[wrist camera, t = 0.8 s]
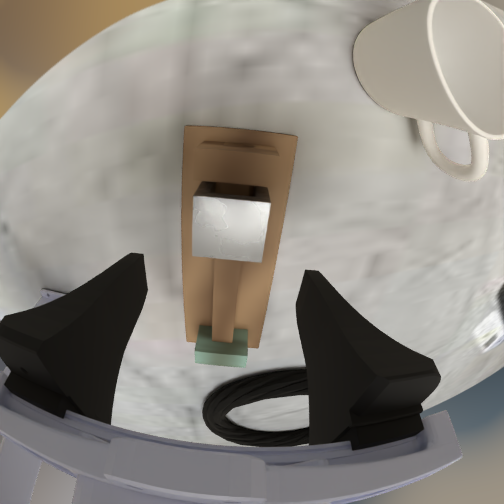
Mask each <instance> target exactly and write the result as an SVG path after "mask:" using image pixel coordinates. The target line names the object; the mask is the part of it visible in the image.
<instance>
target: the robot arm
mask: <svg viewBox="0 0 504 504" xmlns="http://www.w3.org/2000/svg"><path fill="white" fill-rule="evenodd" d="M147 292H148V287H147V280H146V272H145V264H144V255H143V254H139V253H130V254H128V255H127V256H125V257H123V258H122V259H121V260H119V261H118V262H116V263H115V264H113V265H112V266H111V267H109V268H108V269H106V270H105V271H103V272H102V273H101V274H99V275H97V276H96V277H94V278H93V279H91V280H90V281H88V282H87V283H85V284H84V285H82V286H80V287H79V288H77V289H75V290H73V291H71V292H70V293H68V294H63V293H58V292H54V291H50V290H45V289H41V291H40V293H41V296H42V297H41V299H40V300H39V301H38V303H37V304H36V305H35V307H34V308H32V309H29V310H26V311H22V312H18V313H14V314H10V315H6V316H4V318H3V319H2V321H1V322H0V357H1V359H2V360H3V361H4V363H5V364H6V368H5V370H4V372H2V371H1V370H0V434H1V435H2V436H3V439H2V442H1V444H0V504H30V501H31V498H32V494H33V490H34V486H35V483H36V479H37V476H38V473H39V470H40V467H41V464H42V461H43V462H45V463H47V464H49V465H51V466H53V467H55V468H57V469H58V470H61V471H62V472H65V473H67V474H69V475H71V476H73V477H75V478H77V481H76V485H75V490H74V496H73V500H72V504H346V503H350V502H354V501H359V500H362V499H366V498H370V497H373V496H376V495H380V494H383V493H386V492H389V491H392V490H395V489H398V488H400V487H403V486H406V485H408V484H411V483H413V482H416V481H418V480H421V479H423V478H425V477H428V476H430V475H431V474H434V473H436V472H438V471H440V470H441V469H443V468H445V467H447V466H449V465H450V464H452V463H454V462H456V461H457V460H459V459H461V458H462V456H463V455H462V452H461V449H460V446H459V443H458V440H457V437H456V434H455V431H454V428H453V426H452V423H451V420H450V417H449V415H448V413H447V411H442V412H439V413H436V414H433V415H430V416H427V417H425V418H423V419H422V420H421V417H420V413H421V412H423V408H422V406H421V403H422V402H423V401H424V400H425V399H426V398H427V397H428V396H429V395H430V394H431V393H432V392H433V391H434V390H435V389H436V388H437V386H438V384H439V383H440V380H441V376H440V374H439V372H438V369H437V367H436V365H435V363H434V361H433V359H431V358H428V357H426V356H424V355H422V354H419V353H417V352H415V351H413V350H411V349H409V348H407V347H406V346H404V345H402V344H400V343H399V342H397V341H395V340H394V339H392V338H391V337H389V336H388V335H386V334H385V333H383V332H382V331H380V330H379V329H378V328H376V327H375V326H374V325H372V324H371V323H370V322H369V321H368V320H366V319H365V318H364V317H363V316H362V315H360V314H359V313H358V312H357V311H356V310H355V309H354V308H353V307H352V306H351V305H350V304H349V303H348V302H347V301H346V300H345V299H344V298H343V297H342V296H341V295H340V294H339V293H338V292H337V290H336V289H335V288H334V287H333V286H332V285H331V284H330V283H329V282H328V281H327V279H326V278H325V277H324V276H323V275H322V274H321V273H320V272H319V271H315V270H305V272H304V276H303V280H302V284H301V287H300V291H299V294H298V298H297V301H296V317H297V325H298V330H299V335H300V340H301V344H302V349H303V354H304V358H305V363H306V369H307V379H308V392H309V446H293V447H239V446H223V445H211V444H202V443H194V442H187V441H180V440H174V439H168V438H163V437H157V436H153V435H148V434H143V433H139V432H135V431H131V430H127V429H123V428H120V427H116V426H113V425H111V417H112V408H113V401H114V394H115V388H116V383H117V379H118V374H119V370H120V366H121V362H122V358H123V354H124V351H125V349H126V346H127V343H128V341H129V339H130V336H131V334H132V332H133V329H134V327H135V325H136V322H137V320H138V318H139V315H140V313H141V311H142V308H143V305H144V302H145V299H146V295H147Z"/></svg>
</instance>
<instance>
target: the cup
mask: <svg viewBox="0 0 504 504" xmlns="http://www.w3.org/2000/svg"><path fill="white" fill-rule="evenodd" d="M353 62H354V67H355V71H356V74H357V77H358V79H359V81H360V83H361V85H362V86H363V88H364V89H365V91H366V92H367V93H368V95H369V96H370V97H371V98H372V99H373V100H374V101H375V102H376V103H377V104H378V105H380V106H381V107H383V108H384V109H386V110H388V111H390V112H392V113H394V114H397V115H400V116H404V117H409V118H414V119H416V120H417V124H418V129H419V133H420V137H421V140H422V143H423V145H424V148H425V150H426V152H427V154H428V156H429V157H430V159H431V160H432V162H433V163H434V164H435V165H436V166H437V167H438V168H439V169H440V170H442V171H443V172H445V173H446V174H448V175H449V176H451V177H453V178H456V179H458V180H462V181H470V182H472V181H477V180H479V179H480V178H482V177H483V176H484V175H485V173H486V171H487V168H488V163H489V145H488V139H491V140H501V139H504V25H503V23H502V22H501V21H500V19H499V18H498V17H497V16H496V15H495V14H494V13H493V11H492V10H491V9H490V8H488V7H487V6H486V5H485V4H484V3H483V2H481V1H480V0H417V1H415V2H412V3H410V4H408V5H406V6H404V7H401V8H399V9H397V10H395V11H393V12H391V13H389V14H387V15H385V16H383V17H381V18H379V19H377V20H376V21H374V22H372V23H370V24H369V25H367V26H366V27H365V28H364V29H363V30H362V31H361V32H360V34H359V35H358V37H357V39H356V41H355V44H354V49H353ZM433 123H436V124H440V125H444V126H448V127H452V128H455V129H459V130H462V131H466V132H468V136H469V141H470V147H471V157H472V159H471V164H469V165H461V164H458V163H455V162H453V161H451V160H449V159H448V158H446V157H445V156H444V155H443V153H442V152H441V151H440V149H439V147H438V145H437V143H436V139H435V135H434V129H433Z"/></svg>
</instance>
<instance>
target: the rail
mask: <svg viewBox="0 0 504 504" xmlns="http://www.w3.org/2000/svg"><path fill="white" fill-rule="evenodd" d="M297 139H298V137H297V136H293V135H286V134H279V133H272V132H264V131H256V130H247V129H236V128H224V127H209V126H185V128H184V144H183V166H182V208H181V232H182V275H183V296H184V313H185V327H186V340H187V342H194V343H196V346H195V363H200V364H208V365H218V366H230V367H243V368H246V362H247V356H248V348H259V343H260V338H261V334H262V329H263V324H264V319H265V315H266V310H267V305H268V300H269V295H270V290H271V285H272V280H273V275H274V270H275V264H276V259H277V254H278V249H279V243H280V238H281V233H282V227H283V222H284V216H285V211H286V205H287V199H288V194H289V188H290V182H291V176H292V170H293V164H294V158H295V152H296V146H297ZM202 181H210V182H216V189H215V193H221V194H232V195H242V196H252V197H253V194H254V186H262V187H268V191H269V196H270V201H271V206H270V213H269V219H268V225H267V232H266V238H265V245H264V251H263V257H262V263H259V262H249V261H238V260H227V259H217V258H207V257H197V256H192V220H193V195H194V194H195V192H196V190H197V188H198V187H199V185H200V183H201V182H202Z"/></svg>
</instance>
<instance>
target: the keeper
mask: <svg viewBox="0 0 504 504" xmlns="http://www.w3.org/2000/svg"><path fill="white" fill-rule="evenodd" d="M215 189H216V182H210V181H202V182H201V183H200V185H199V187H198V188H197V190H196V192H195V194H194V195H193V220H192V256H197V257H207V258H217V259H227V260H238V261H249V262H259V263H262V257H263V251H264V245H265V238H266V232H267V225H268V219H269V213H270V206H271V201H270V196H269V191H268V187H262V186H254V194H253V197H252V196H242V195H232V194H221V193H215Z"/></svg>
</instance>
